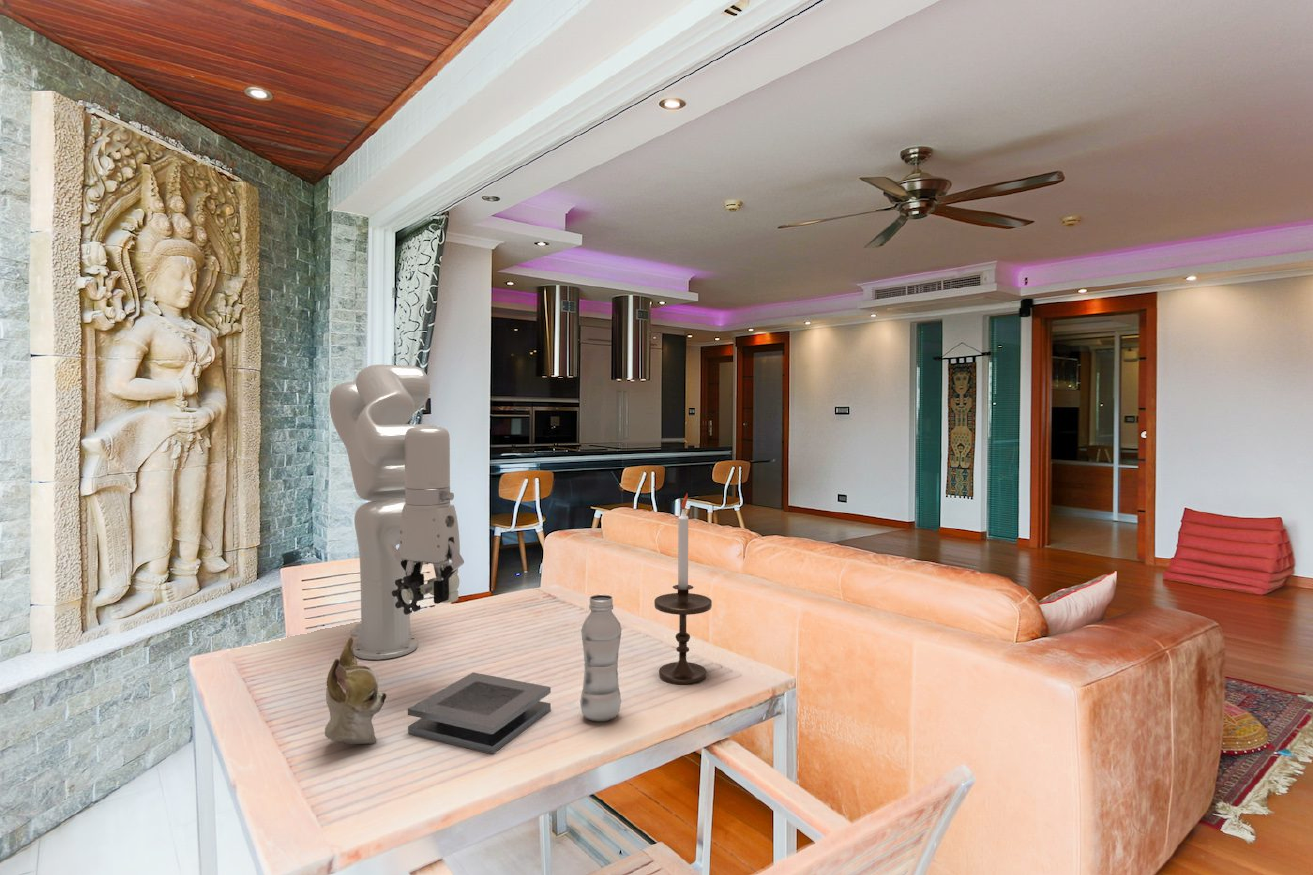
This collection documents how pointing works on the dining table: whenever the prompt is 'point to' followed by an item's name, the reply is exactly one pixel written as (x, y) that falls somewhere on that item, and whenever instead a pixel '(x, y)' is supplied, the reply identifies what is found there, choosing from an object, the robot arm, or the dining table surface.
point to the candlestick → (682, 613)
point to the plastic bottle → (601, 661)
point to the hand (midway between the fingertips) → (428, 598)
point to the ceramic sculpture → (352, 700)
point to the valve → (421, 591)
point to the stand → (479, 712)
